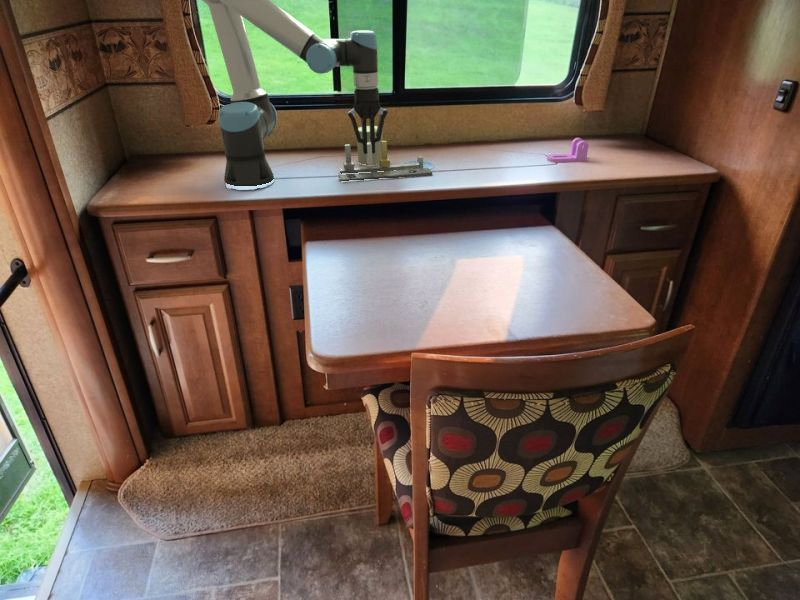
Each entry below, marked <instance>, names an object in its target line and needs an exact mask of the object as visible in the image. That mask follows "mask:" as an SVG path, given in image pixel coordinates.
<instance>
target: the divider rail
mask: <svg viewBox="0 0 800 600" xmlns="http://www.w3.org/2000/svg"><path fill="white" fill-rule="evenodd" d="M344 153H345V162H343V168H339V174H340V173H341V174H342V173H358V172H377V171H394V170H409V169H421V168H424V157H423V156H422V155H417V157H416V158H417V159H416V160H417V161H416V162H415V163H414V162H413V163H400V164H399V163H398V164H390V167H381V166H380V165H376V166H364V167H363V166H362V167H360V166H359V167H355V164H354V161H352V150H351V144H350V143H348V144H347V143H346V144H345V143H344Z"/></svg>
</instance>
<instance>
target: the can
mask: <svg viewBox="0 0 800 600" xmlns="http://www.w3.org/2000/svg"><path fill="white" fill-rule="evenodd" d="M366 126H367V143H368V142H370V126H369V125H366ZM374 127H375V137H376V132H377V127H378V125H374ZM358 130H359V133H360V137H361V138H362V126H359V127H358ZM383 131H384V128H383V129H382V134H381V140H380V141H378V142H376V143H375V153H372V161H373V164H370V165H376V164H379V159H382V155H381V141H384V140H383V139H384V138H383V137H384V136H383V135H384V133H383ZM356 144H357V145H356V147H357V163H358V162H359V163H361V164H366V165H368V164H367V157H366V154H364V152H363V144H362V143H359V142H358V141H357V140H356ZM376 166H377V165H376Z"/></svg>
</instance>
